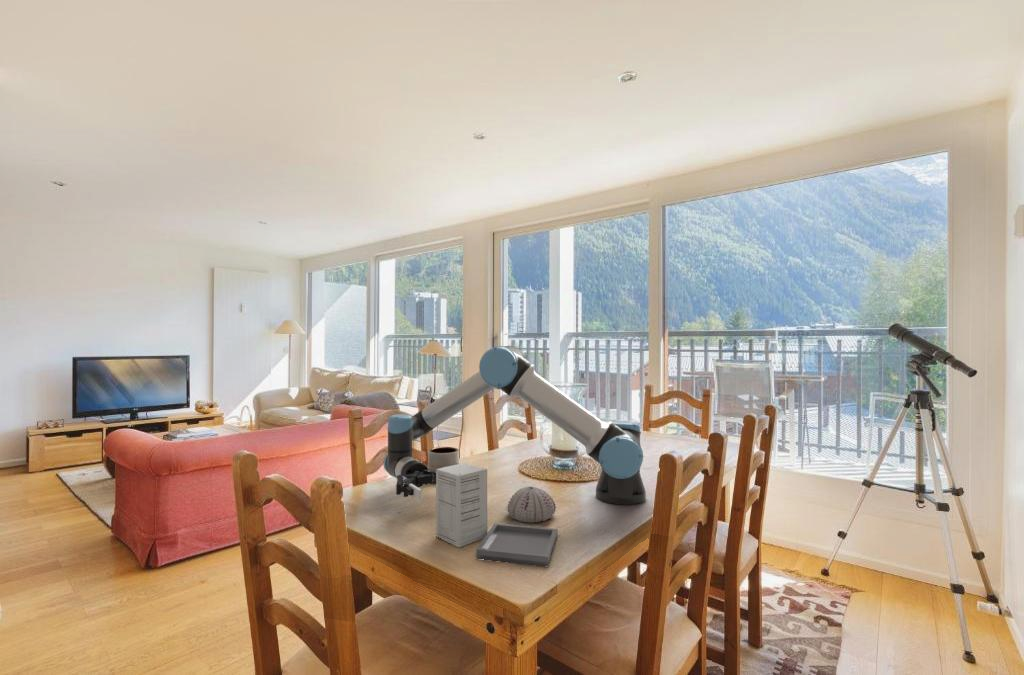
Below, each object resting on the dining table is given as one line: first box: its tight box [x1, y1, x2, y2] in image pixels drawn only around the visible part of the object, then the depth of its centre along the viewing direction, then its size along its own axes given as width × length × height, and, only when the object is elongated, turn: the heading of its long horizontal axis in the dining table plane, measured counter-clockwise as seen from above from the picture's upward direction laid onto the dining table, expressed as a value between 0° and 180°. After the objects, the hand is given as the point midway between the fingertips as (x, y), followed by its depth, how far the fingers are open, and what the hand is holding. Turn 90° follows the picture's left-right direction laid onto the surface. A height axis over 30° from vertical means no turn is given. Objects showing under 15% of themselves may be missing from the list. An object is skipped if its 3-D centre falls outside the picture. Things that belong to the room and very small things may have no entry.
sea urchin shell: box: [506, 485, 557, 524], centre depth 136 cm, size 13×14×8 cm
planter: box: [427, 446, 460, 481], centre depth 174 cm, size 11×11×10 cm
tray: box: [475, 522, 559, 567], centre depth 115 cm, size 16×16×2 cm
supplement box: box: [435, 462, 488, 548], centre depth 121 cm, size 10×9×17 cm
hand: (444, 491), depth 129 cm, fingers open, 13 cm apart
